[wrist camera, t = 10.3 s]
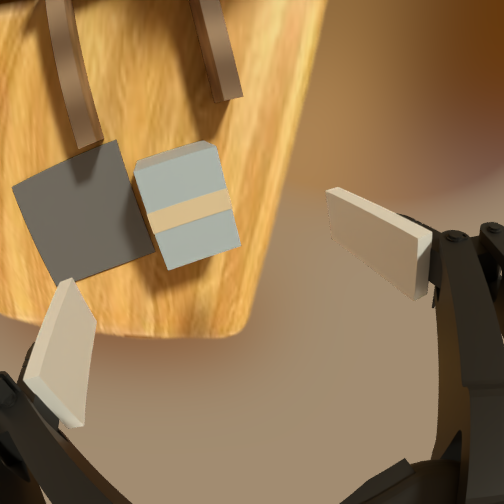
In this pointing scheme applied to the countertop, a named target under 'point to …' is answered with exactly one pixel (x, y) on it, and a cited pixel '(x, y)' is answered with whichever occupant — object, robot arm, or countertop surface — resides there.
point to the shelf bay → (75, 75)
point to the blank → (187, 203)
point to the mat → (84, 214)
